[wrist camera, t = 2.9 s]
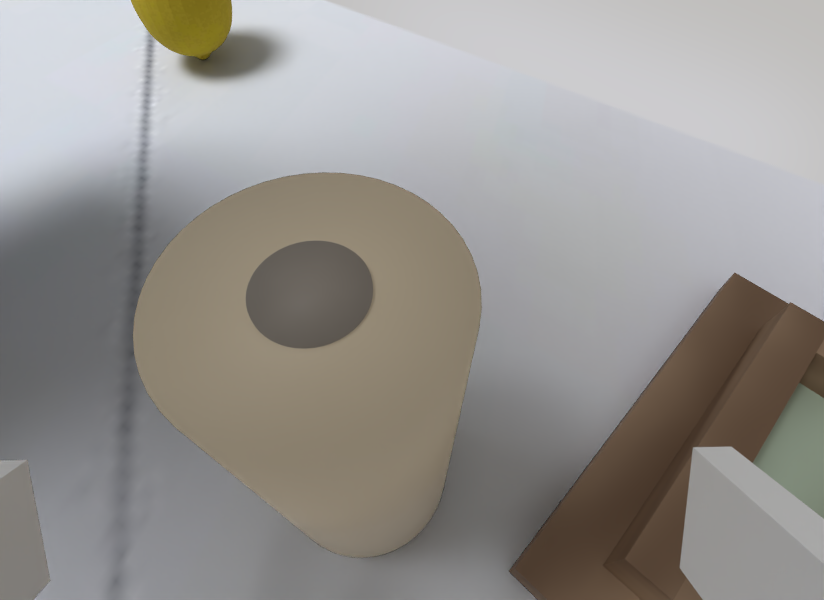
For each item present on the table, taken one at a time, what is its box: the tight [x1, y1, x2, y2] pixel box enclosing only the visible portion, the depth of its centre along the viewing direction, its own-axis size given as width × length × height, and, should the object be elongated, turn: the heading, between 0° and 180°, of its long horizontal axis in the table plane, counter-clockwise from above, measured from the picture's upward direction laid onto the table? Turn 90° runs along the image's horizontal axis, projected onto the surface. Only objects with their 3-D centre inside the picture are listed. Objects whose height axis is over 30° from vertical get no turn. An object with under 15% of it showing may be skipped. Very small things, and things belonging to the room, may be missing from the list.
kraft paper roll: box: [133, 173, 482, 558], centre depth 14 cm, size 6×6×12 cm
